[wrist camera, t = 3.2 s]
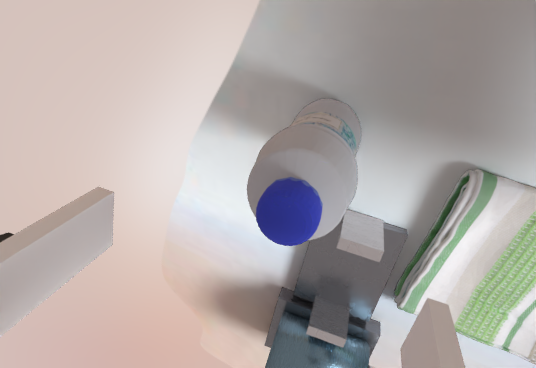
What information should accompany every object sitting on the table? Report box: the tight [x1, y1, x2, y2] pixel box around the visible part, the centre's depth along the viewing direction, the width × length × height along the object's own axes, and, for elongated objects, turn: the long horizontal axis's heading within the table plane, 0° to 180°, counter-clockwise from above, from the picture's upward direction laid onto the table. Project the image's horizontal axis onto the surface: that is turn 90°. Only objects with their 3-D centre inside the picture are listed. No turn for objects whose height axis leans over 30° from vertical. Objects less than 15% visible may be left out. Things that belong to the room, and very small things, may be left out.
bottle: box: [247, 99, 361, 246], centre depth 27 cm, size 7×7×20 cm
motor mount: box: [265, 209, 408, 368], centre depth 39 cm, size 21×13×8 cm, turn 168°
